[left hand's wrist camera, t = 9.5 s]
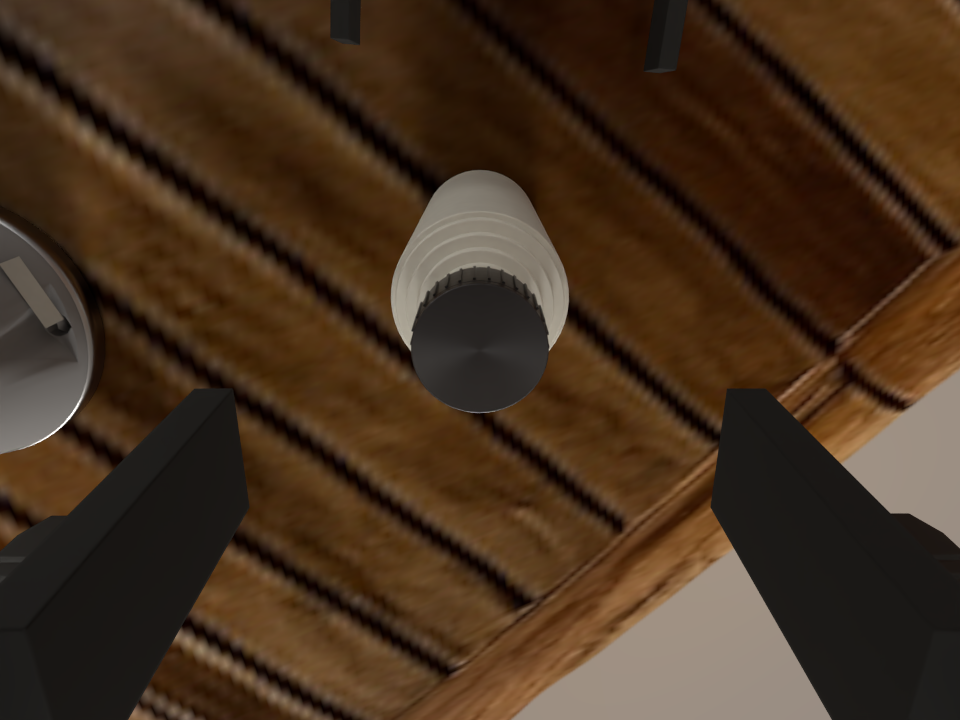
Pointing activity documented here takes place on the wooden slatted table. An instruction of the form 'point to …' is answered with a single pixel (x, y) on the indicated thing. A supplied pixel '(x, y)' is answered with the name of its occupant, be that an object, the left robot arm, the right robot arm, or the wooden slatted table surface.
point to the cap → (479, 340)
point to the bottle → (479, 247)
